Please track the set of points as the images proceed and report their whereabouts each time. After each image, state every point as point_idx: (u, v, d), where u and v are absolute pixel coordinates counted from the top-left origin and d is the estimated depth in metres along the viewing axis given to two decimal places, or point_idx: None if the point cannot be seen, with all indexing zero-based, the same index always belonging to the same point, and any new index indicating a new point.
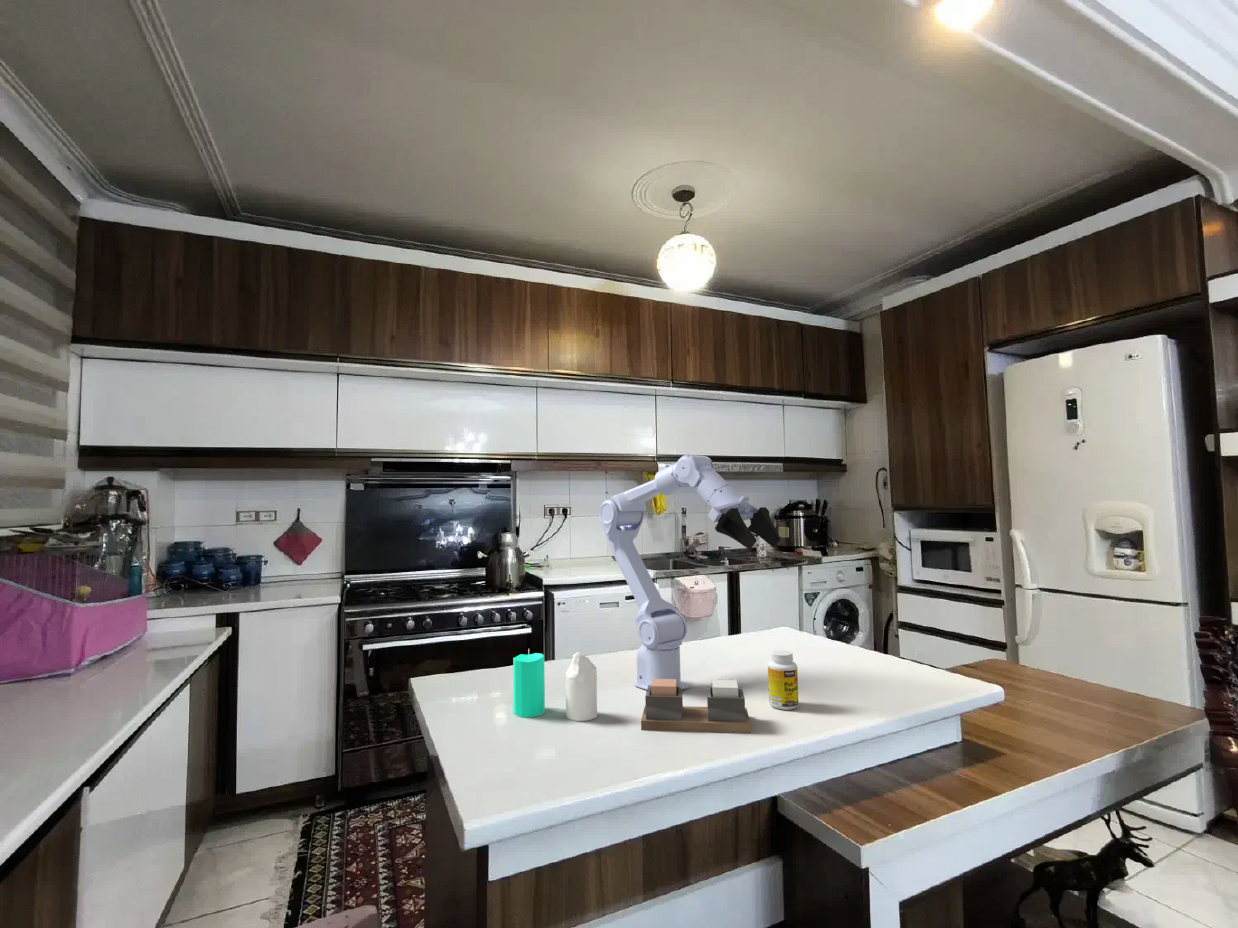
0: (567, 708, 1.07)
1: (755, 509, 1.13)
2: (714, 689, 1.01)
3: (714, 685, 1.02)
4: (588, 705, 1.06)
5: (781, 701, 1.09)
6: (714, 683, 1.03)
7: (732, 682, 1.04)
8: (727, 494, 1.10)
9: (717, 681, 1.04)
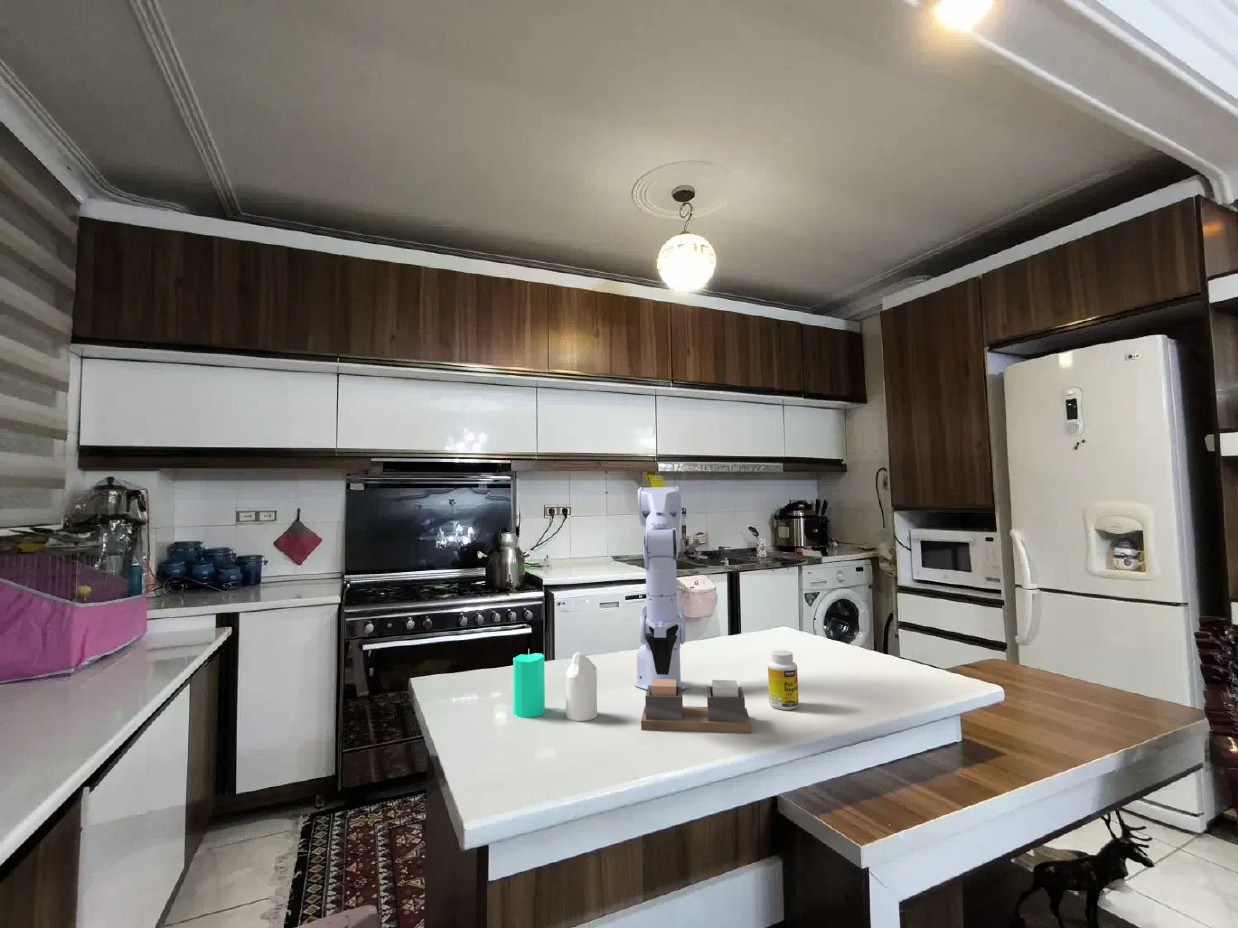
0: (567, 708, 1.07)
1: None
2: (714, 689, 1.01)
3: (714, 685, 1.02)
4: (588, 705, 1.06)
5: (781, 701, 1.09)
6: (714, 683, 1.03)
7: (732, 682, 1.04)
8: (673, 606, 1.04)
9: (717, 681, 1.04)
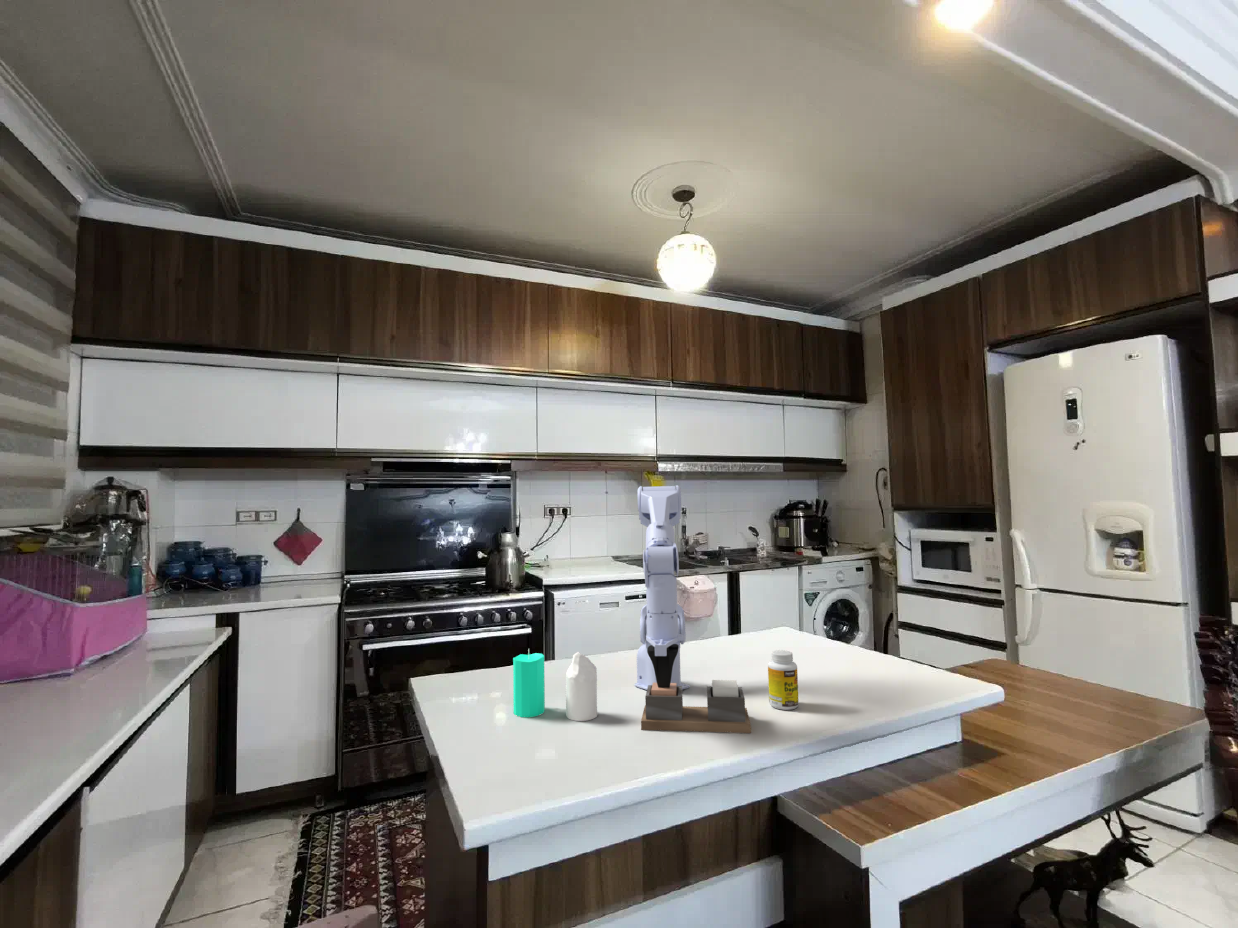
0: (567, 708, 1.07)
1: None
2: (714, 689, 1.01)
3: (714, 685, 1.02)
4: (588, 705, 1.06)
5: (781, 701, 1.09)
6: (714, 683, 1.03)
7: (732, 682, 1.04)
8: (674, 624, 1.03)
9: (717, 681, 1.04)
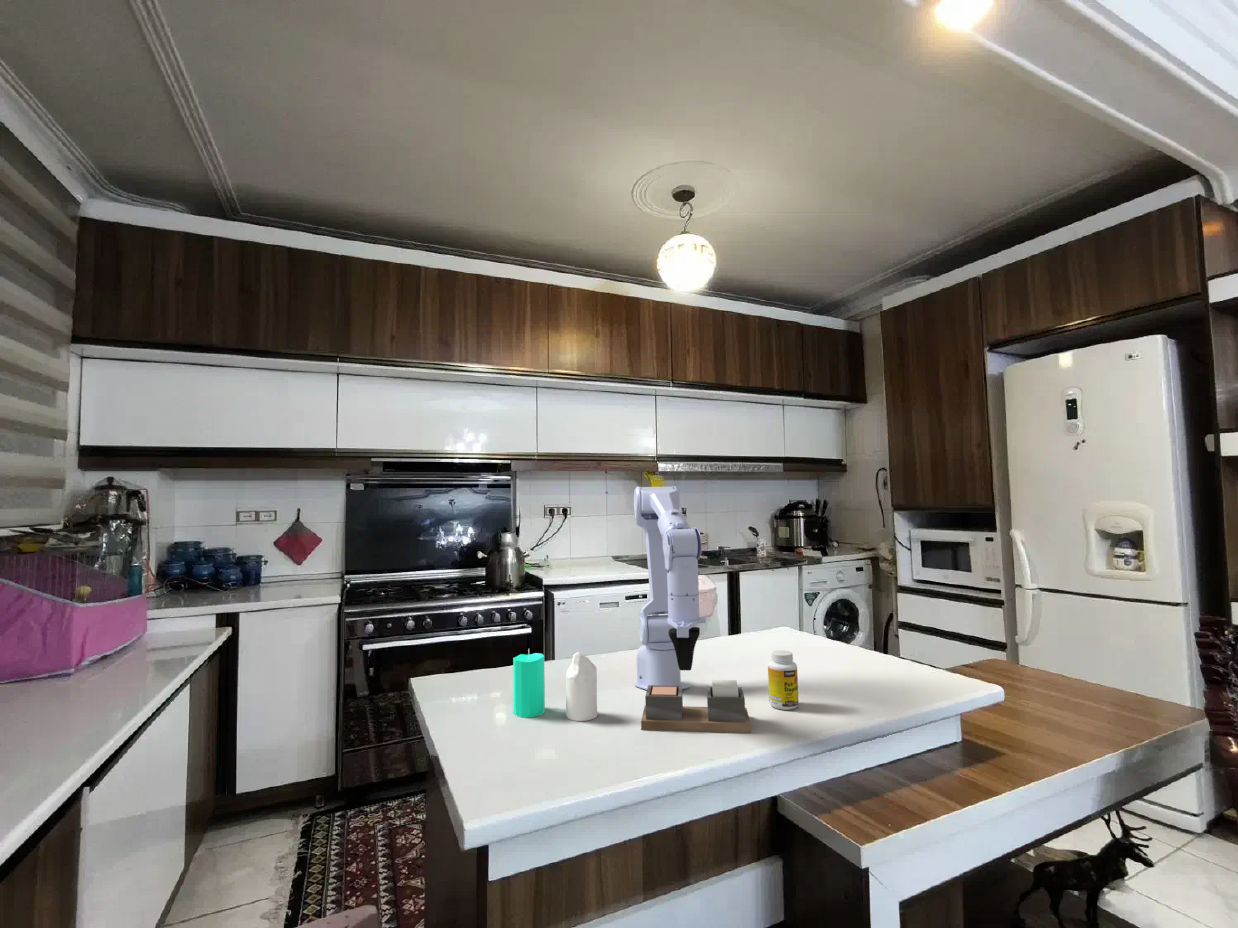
0: (567, 708, 1.07)
1: None
2: (714, 689, 1.01)
3: (714, 685, 1.02)
4: (588, 705, 1.06)
5: (781, 701, 1.09)
6: (714, 683, 1.03)
7: (732, 682, 1.04)
8: (695, 606, 1.03)
9: (717, 681, 1.04)
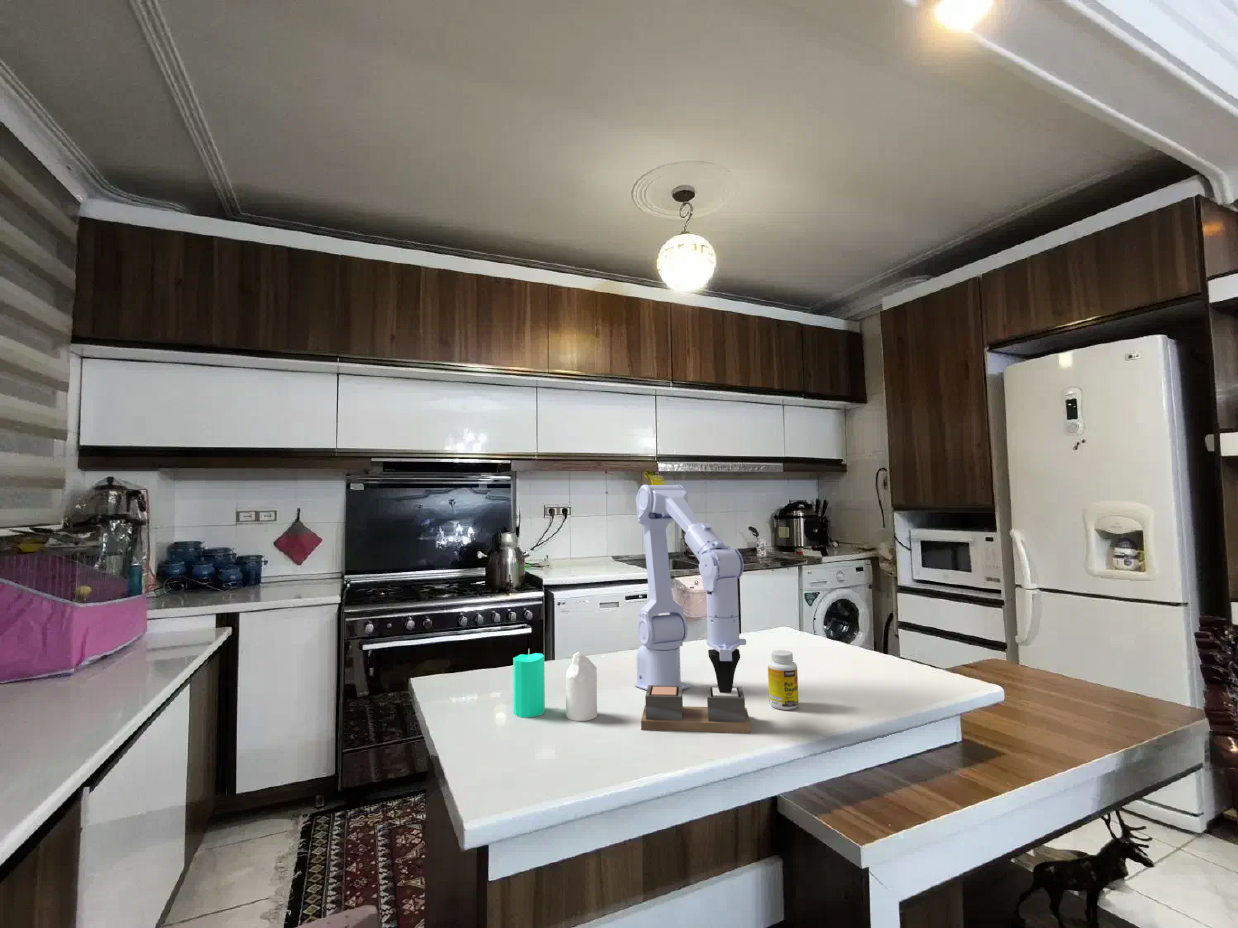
0: (567, 708, 1.07)
1: None
2: None
3: (714, 693, 1.02)
4: (588, 705, 1.06)
5: (781, 701, 1.09)
6: (714, 691, 1.03)
7: (732, 689, 1.04)
8: (736, 628, 1.02)
9: (717, 689, 1.04)
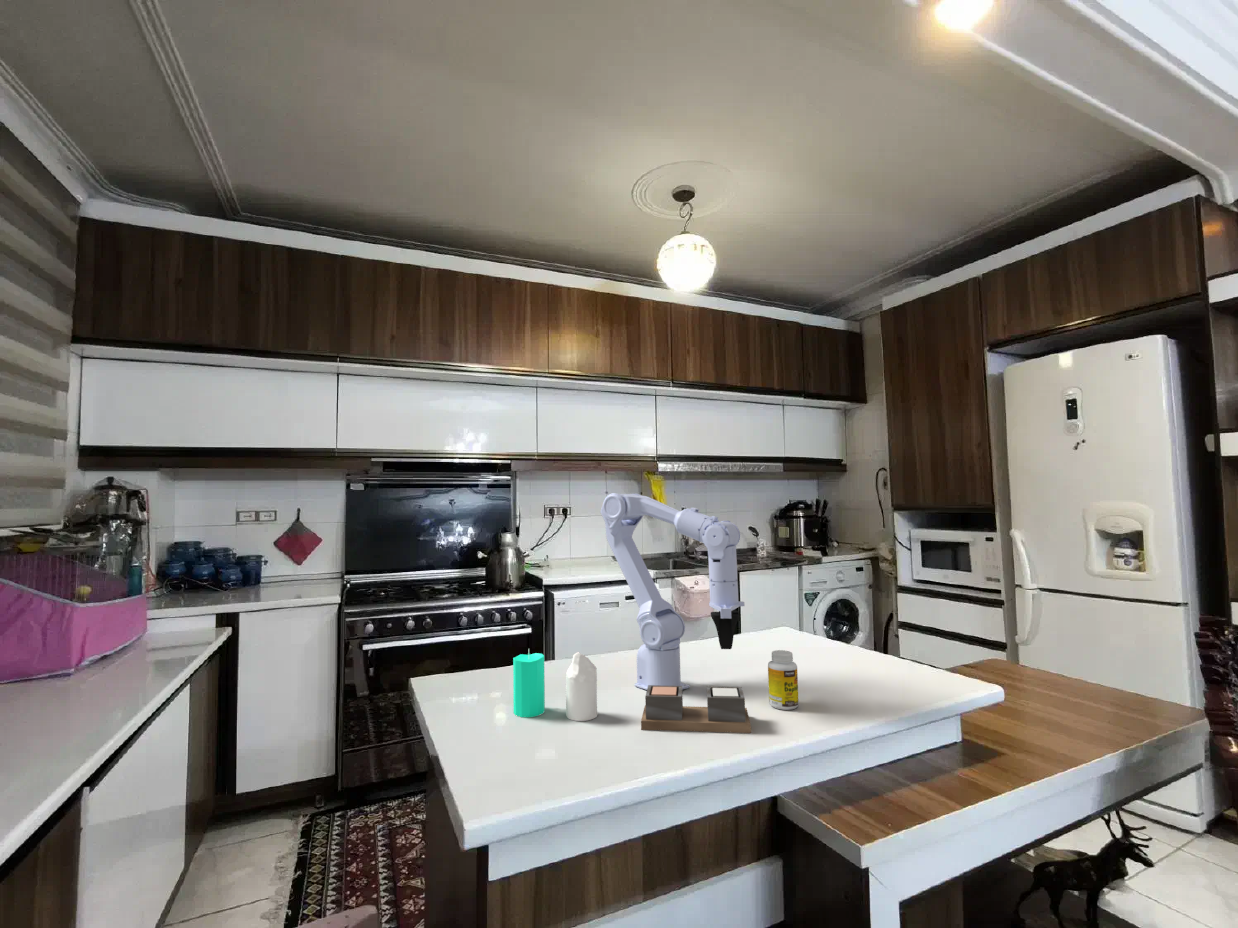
0: (567, 708, 1.07)
1: None
2: None
3: (714, 693, 1.02)
4: (588, 705, 1.06)
5: (781, 701, 1.09)
6: (714, 691, 1.03)
7: (732, 690, 1.04)
8: (735, 591, 1.14)
9: (717, 689, 1.04)
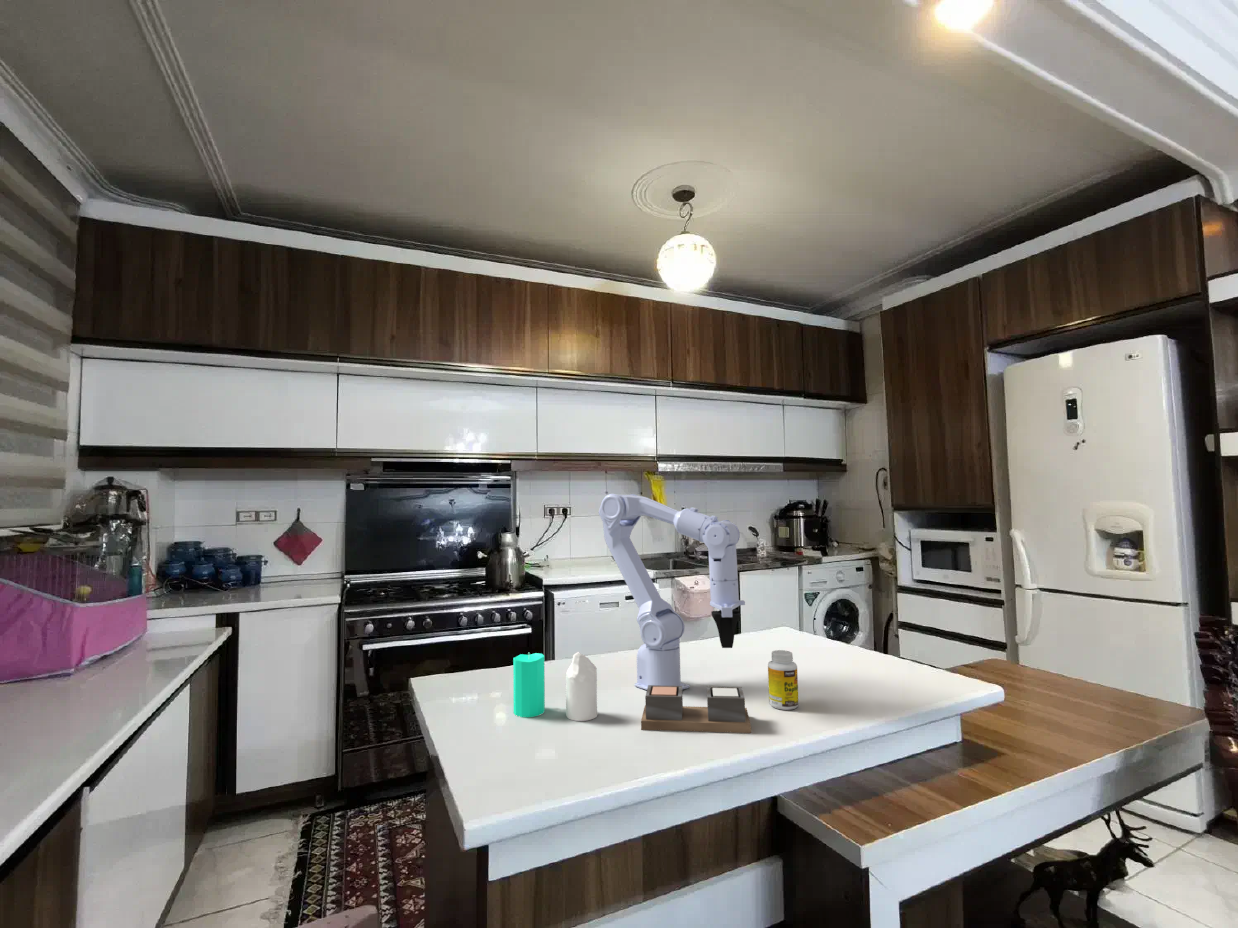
0: (567, 708, 1.07)
1: None
2: None
3: (714, 693, 1.02)
4: (588, 705, 1.06)
5: (781, 701, 1.09)
6: (714, 691, 1.03)
7: (732, 690, 1.04)
8: (736, 590, 1.15)
9: (717, 689, 1.04)
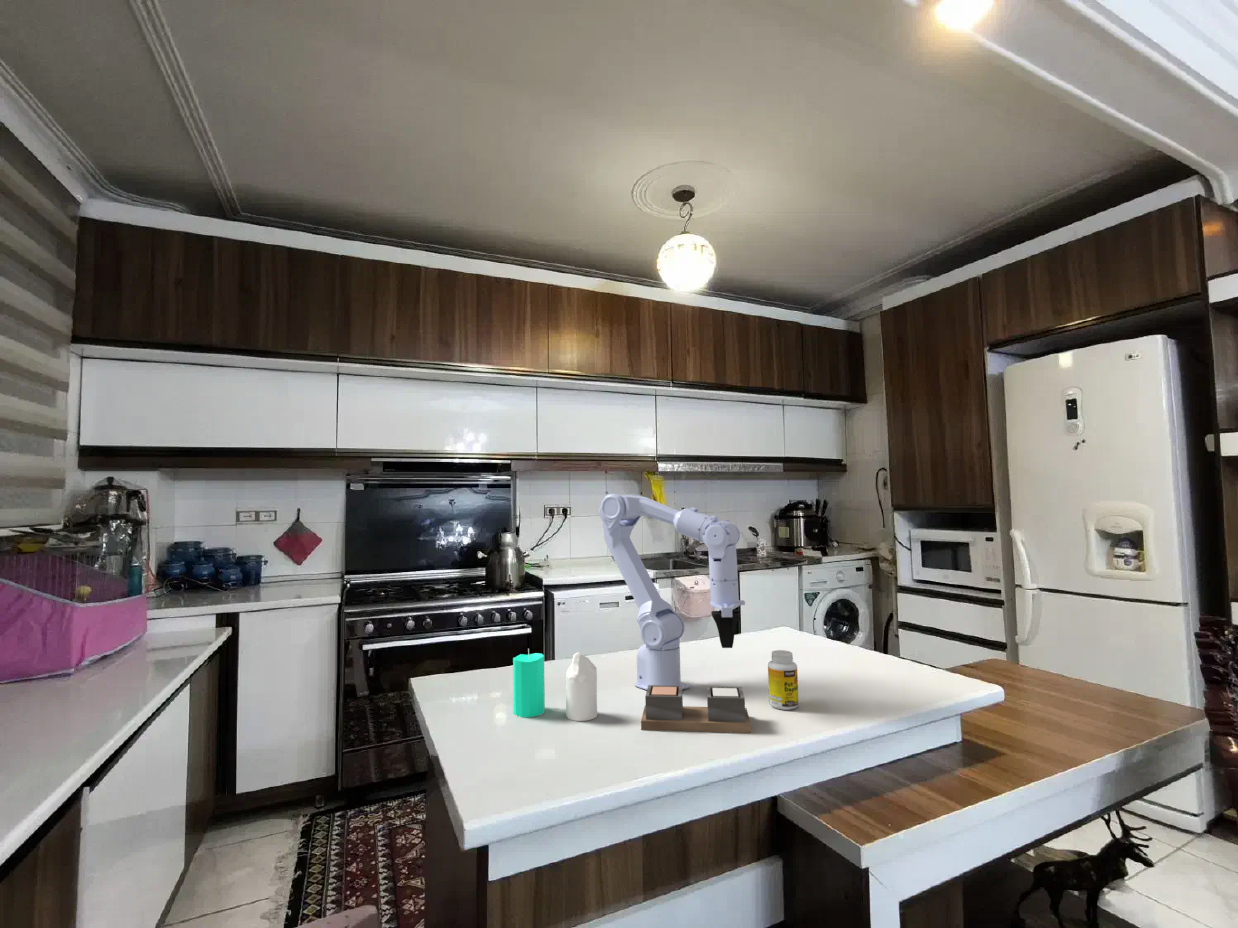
0: (567, 708, 1.07)
1: None
2: None
3: (714, 693, 1.02)
4: (588, 705, 1.06)
5: (781, 701, 1.09)
6: (714, 691, 1.03)
7: (732, 690, 1.04)
8: (736, 590, 1.15)
9: (717, 689, 1.04)
